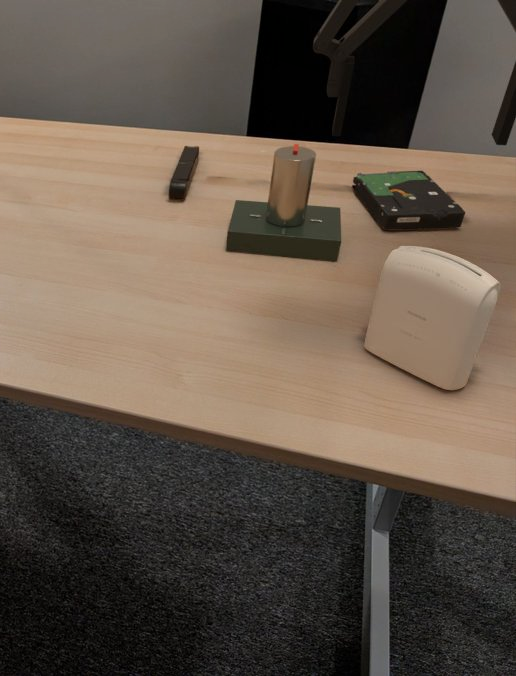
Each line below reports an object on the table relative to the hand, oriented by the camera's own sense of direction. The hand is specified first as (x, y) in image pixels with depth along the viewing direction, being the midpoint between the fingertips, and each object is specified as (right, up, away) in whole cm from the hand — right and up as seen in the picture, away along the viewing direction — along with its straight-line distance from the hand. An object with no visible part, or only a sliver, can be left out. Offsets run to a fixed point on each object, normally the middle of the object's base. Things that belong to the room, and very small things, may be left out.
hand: (414, 136), depth 60 cm
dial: (-3, -3, +27) cm, 27 cm away
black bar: (-13, +7, +47) cm, 49 cm away
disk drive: (+17, 0, +34) cm, 38 cm away
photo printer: (+3, -21, +6) cm, 22 cm away
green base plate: (-3, -5, +29) cm, 29 cm away
